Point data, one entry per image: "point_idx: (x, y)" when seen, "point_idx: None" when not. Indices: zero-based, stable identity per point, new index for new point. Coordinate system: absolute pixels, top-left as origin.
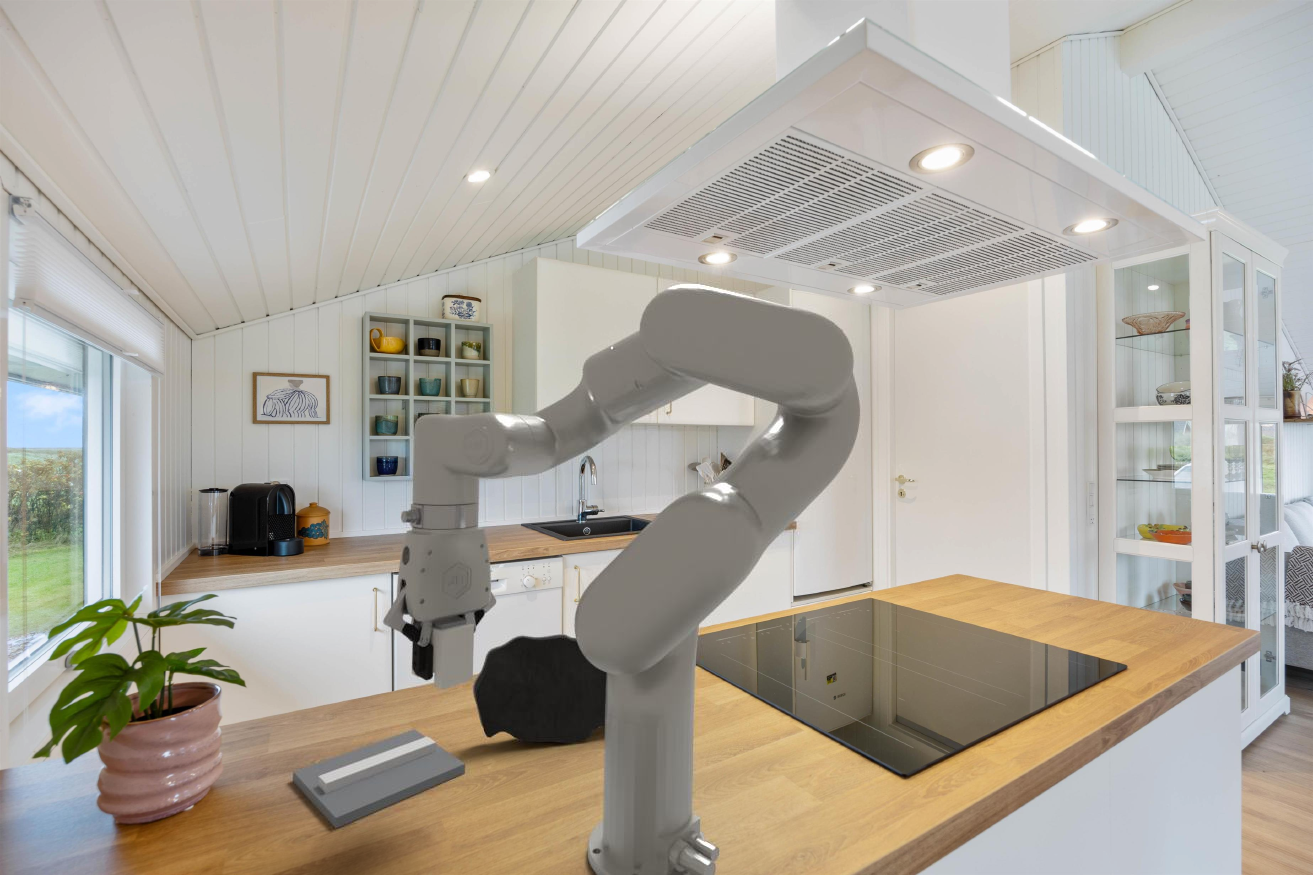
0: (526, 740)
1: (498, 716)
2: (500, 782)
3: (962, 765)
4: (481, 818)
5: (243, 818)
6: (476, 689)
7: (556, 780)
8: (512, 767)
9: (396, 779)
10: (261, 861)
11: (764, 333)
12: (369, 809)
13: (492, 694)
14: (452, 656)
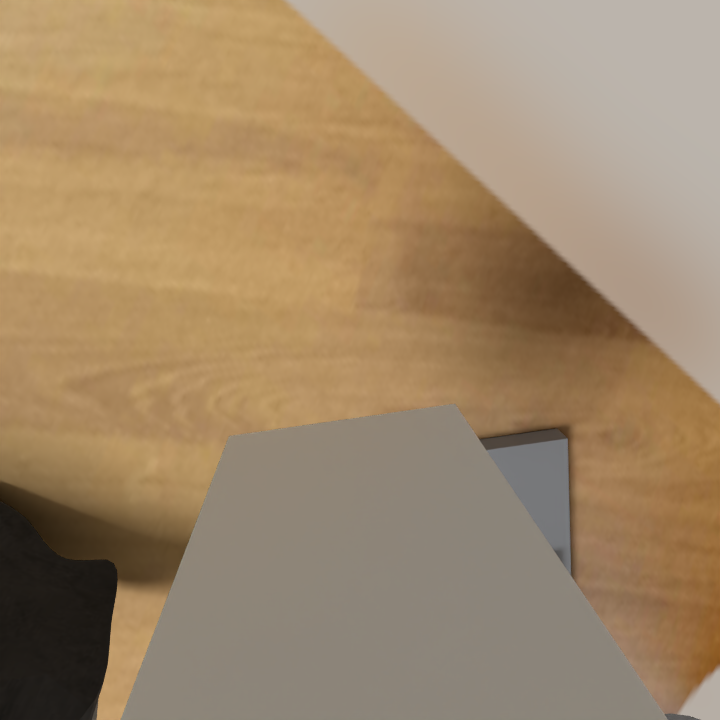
0: (3, 506)
1: (52, 600)
2: (156, 375)
3: None
4: (268, 248)
5: (681, 577)
6: (86, 718)
7: (5, 283)
8: (95, 425)
9: None
10: (703, 405)
11: None
12: (484, 443)
13: (36, 672)
14: (413, 516)
